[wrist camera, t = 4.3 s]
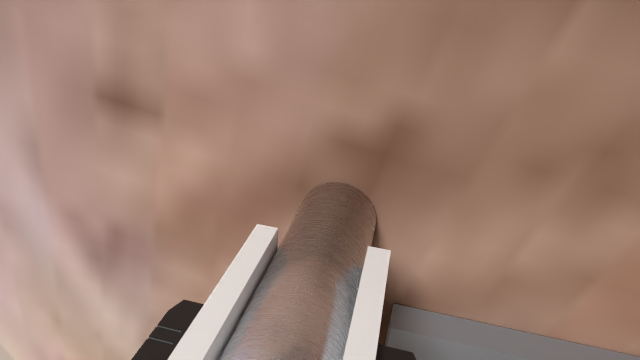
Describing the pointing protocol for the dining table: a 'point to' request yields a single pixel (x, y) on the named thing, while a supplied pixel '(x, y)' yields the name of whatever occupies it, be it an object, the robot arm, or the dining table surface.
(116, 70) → the dining table surface
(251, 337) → the hinge pin
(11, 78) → the dining table surface
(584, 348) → the stand
